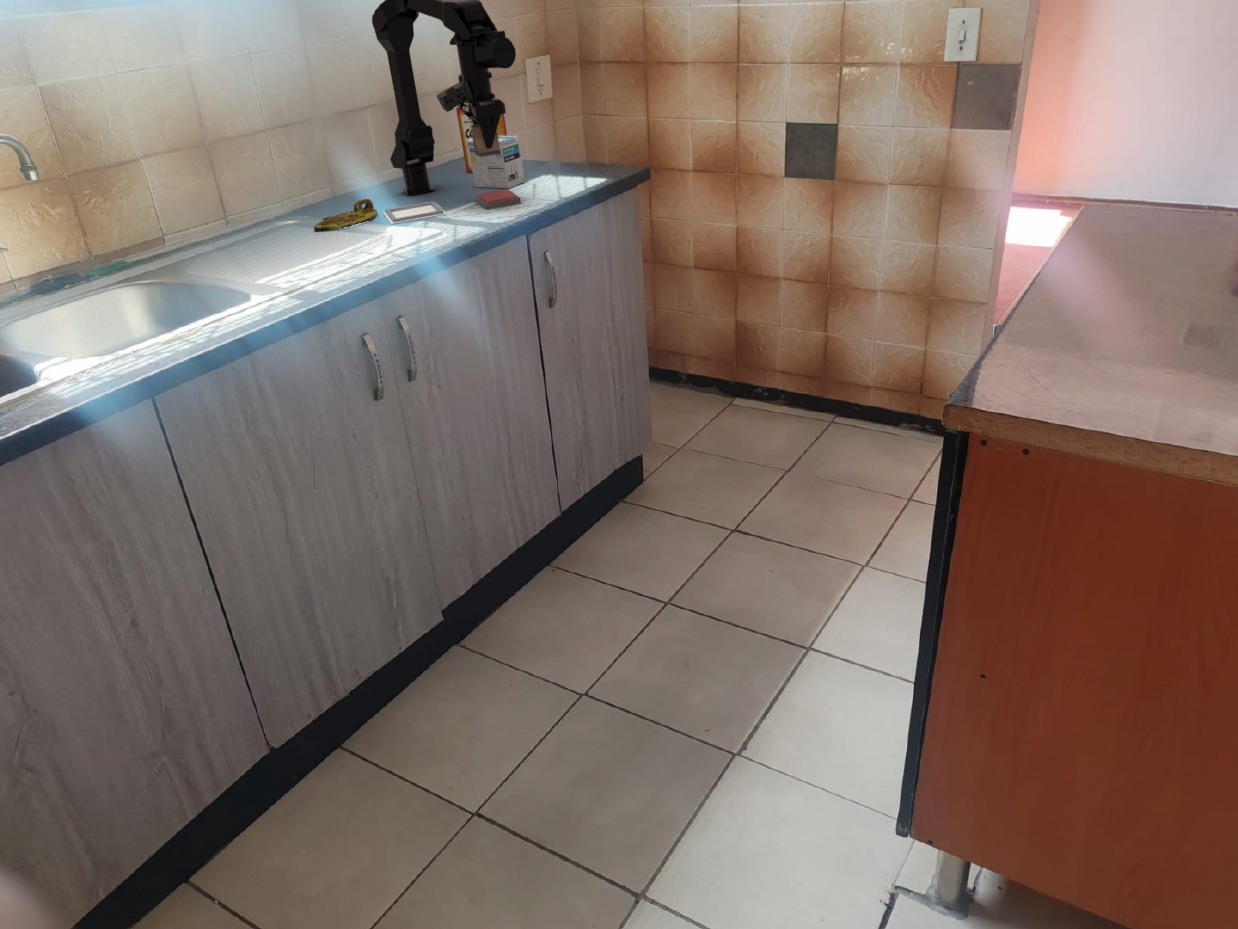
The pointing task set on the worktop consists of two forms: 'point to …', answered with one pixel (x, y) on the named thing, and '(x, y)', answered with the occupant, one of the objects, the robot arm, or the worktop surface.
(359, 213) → the seal
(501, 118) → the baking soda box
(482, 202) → the ink pad
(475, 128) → the brown cardboard box
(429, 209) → the frame
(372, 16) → the robot arm
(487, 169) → the light bulb box
